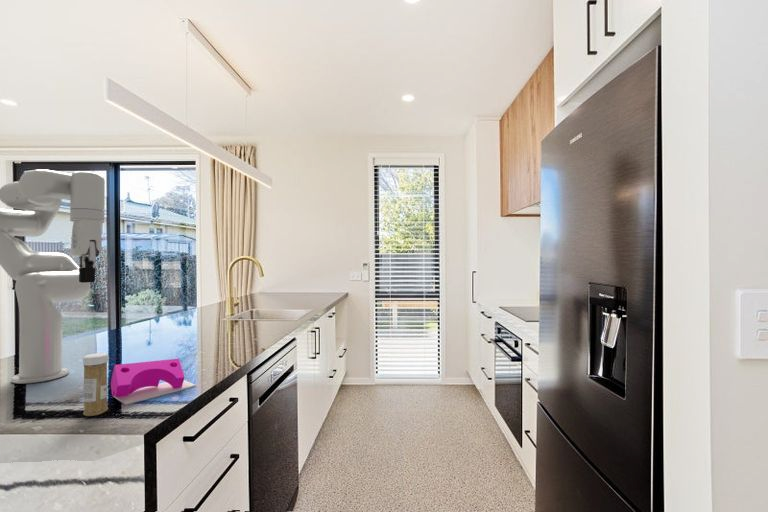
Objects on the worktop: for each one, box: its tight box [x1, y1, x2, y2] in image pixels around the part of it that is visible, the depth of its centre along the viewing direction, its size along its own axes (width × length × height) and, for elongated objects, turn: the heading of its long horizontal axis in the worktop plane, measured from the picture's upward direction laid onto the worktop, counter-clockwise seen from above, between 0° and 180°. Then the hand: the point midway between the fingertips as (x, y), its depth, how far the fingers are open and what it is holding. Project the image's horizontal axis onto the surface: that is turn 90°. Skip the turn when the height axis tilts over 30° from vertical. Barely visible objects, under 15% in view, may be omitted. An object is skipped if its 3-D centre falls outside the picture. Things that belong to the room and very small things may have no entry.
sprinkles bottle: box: [82, 352, 109, 417], centre depth 87 cm, size 5×5×14 cm
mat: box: [112, 379, 197, 406], centre depth 101 cm, size 9×17×1 cm, turn 142°
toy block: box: [110, 358, 185, 397], centre depth 100 cm, size 15×6×8 cm
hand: (87, 282), depth 105 cm, fingers closed
